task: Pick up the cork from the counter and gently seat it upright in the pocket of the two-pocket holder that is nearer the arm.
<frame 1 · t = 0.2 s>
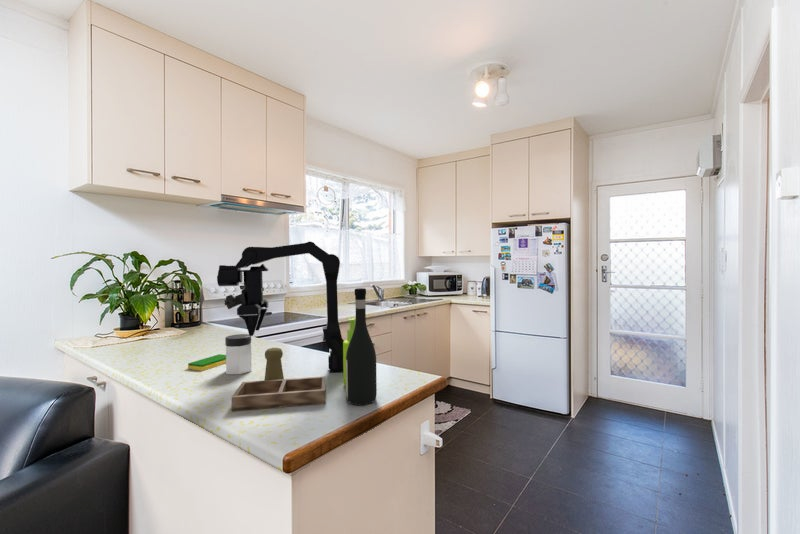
hand: (254, 333, 120), 14 cm above the counter, tool pointing down, fingers open, 9 cm apart
dish sponge: (211, 366, 134), on the counter
jar: (238, 371, 126), on the counter
wine bottle: (361, 401, 98), on the counter
holder: (282, 398, 100), on the counter
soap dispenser: (354, 384, 111), on the counter
cork: (274, 384, 112), on the counter
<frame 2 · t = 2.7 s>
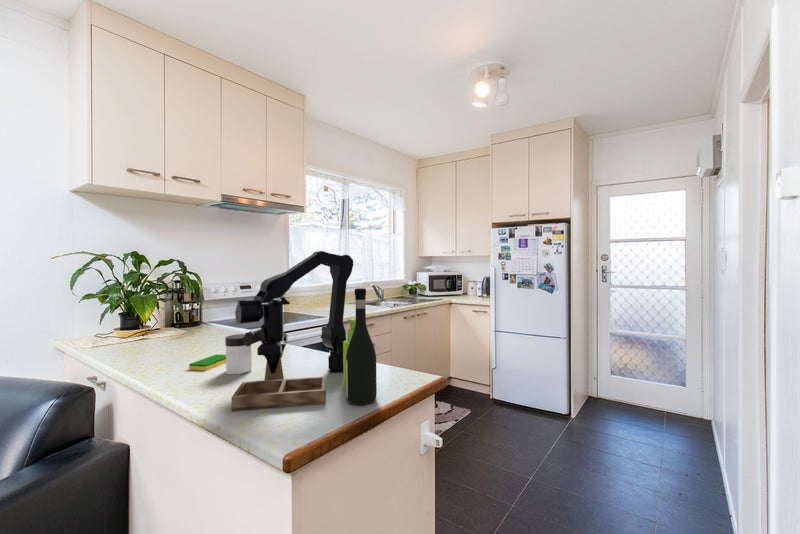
hand: (274, 371, 112), 4 cm above the counter, tool pointing down, fingers closed on cork, 4 cm apart
cork: (274, 384, 112), on the counter, touching gripper
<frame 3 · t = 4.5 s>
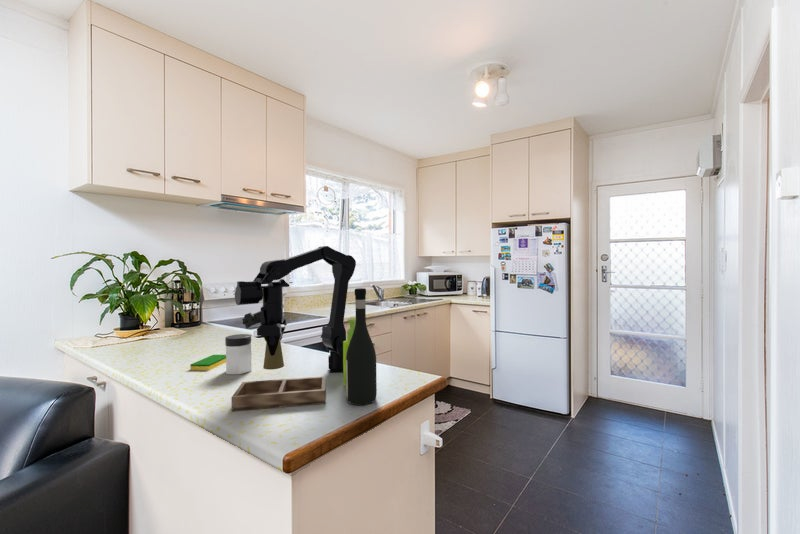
hand: (273, 353, 112), 9 cm above the counter, tool pointing down, fingers closed on cork, 4 cm apart
cork: (273, 367, 112), point 5 cm above the counter, touching gripper
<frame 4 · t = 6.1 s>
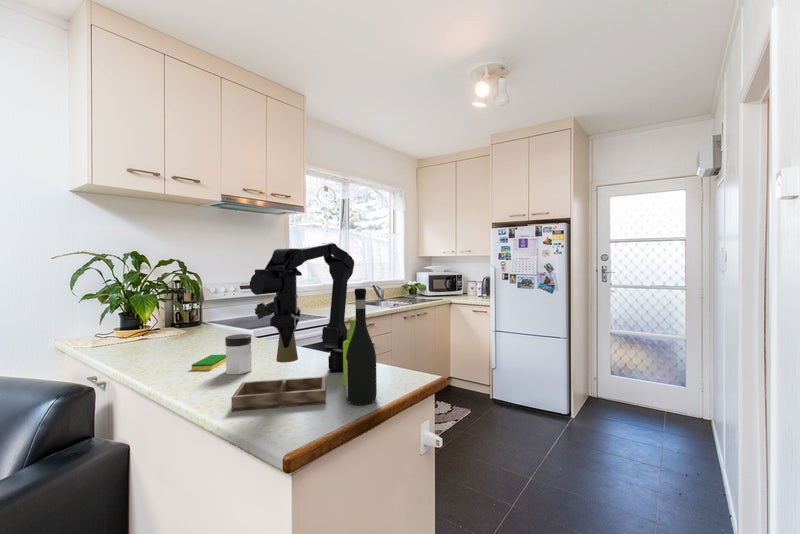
hand: (287, 345, 106), 13 cm above the counter, tool pointing down, fingers closed on cork, 4 cm apart
cork: (287, 360, 106), point 9 cm above the counter, touching gripper
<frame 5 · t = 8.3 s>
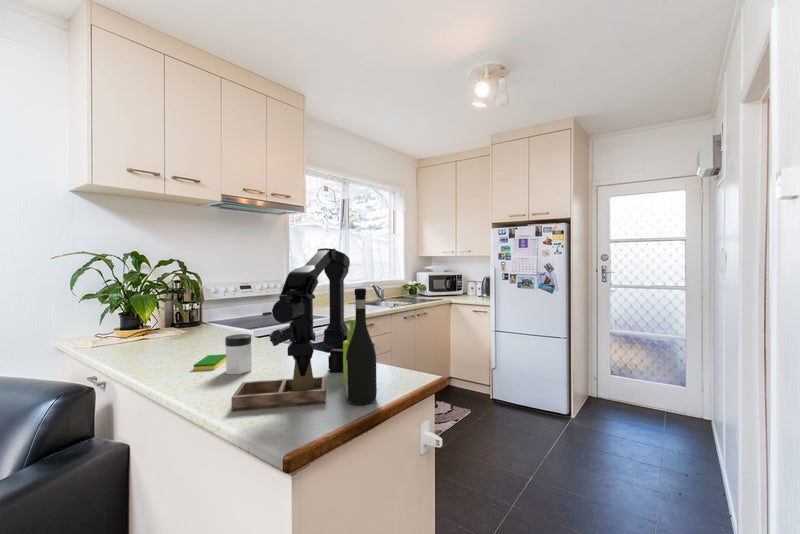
hand: (303, 373, 101), 7 cm above the counter, tool pointing down, fingers closed on cork, 4 cm apart
cork: (303, 388, 101), point 2 cm above the counter, touching gripper
when the fingers open (5 cm above the counter, at t = 9.8 s): cork stays where it is, resting on holder.
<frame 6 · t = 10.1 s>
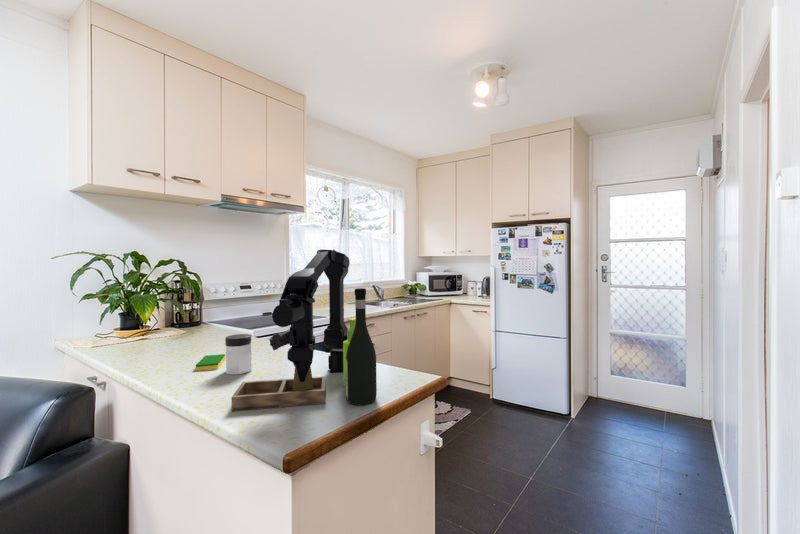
hand: (303, 377, 101), 5 cm above the counter, tool pointing down, fingers open, 8 cm apart
cork: (303, 394, 101), point 1 cm above the counter, touching holder
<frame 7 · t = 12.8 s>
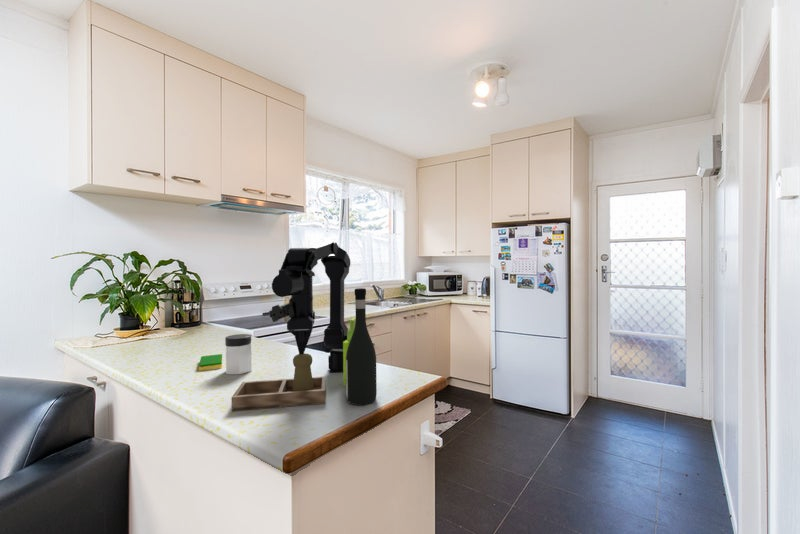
hand: (302, 350, 101), 13 cm above the counter, tool pointing down, fingers open, 9 cm apart
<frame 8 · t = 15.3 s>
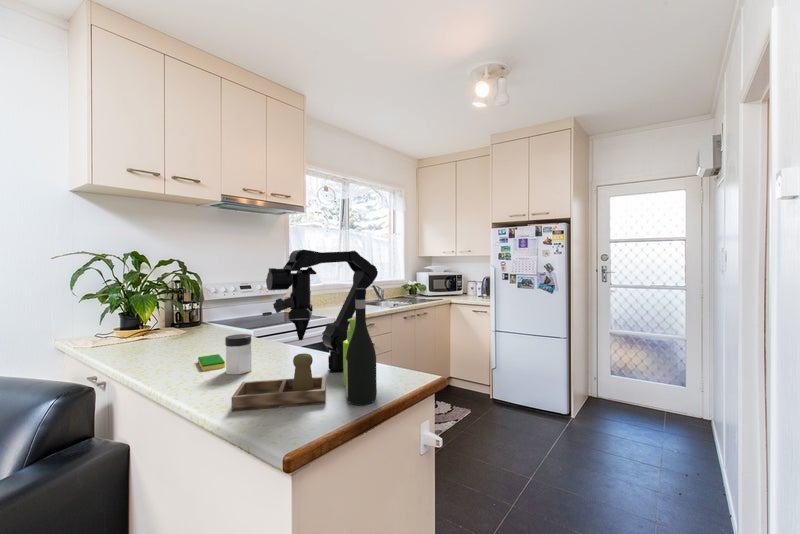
hand: (301, 337, 118), 13 cm above the counter, tool pointing down, fingers open, 9 cm apart
at the end: cork 0.1 cm from the target spot on the holder, point 0.6 cm above the holder's base; cork tilted 0°; the gripper is holding nothing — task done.
